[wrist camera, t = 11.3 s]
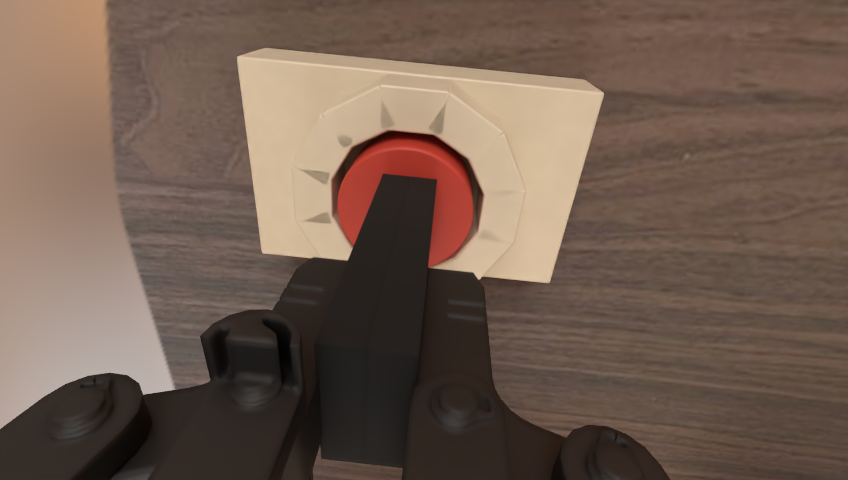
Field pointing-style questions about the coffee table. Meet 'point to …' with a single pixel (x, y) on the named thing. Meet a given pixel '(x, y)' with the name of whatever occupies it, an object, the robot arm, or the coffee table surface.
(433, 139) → the bell button
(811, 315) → the coffee table surface
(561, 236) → the beige button housing
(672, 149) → the coffee table surface
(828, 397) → the coffee table surface
